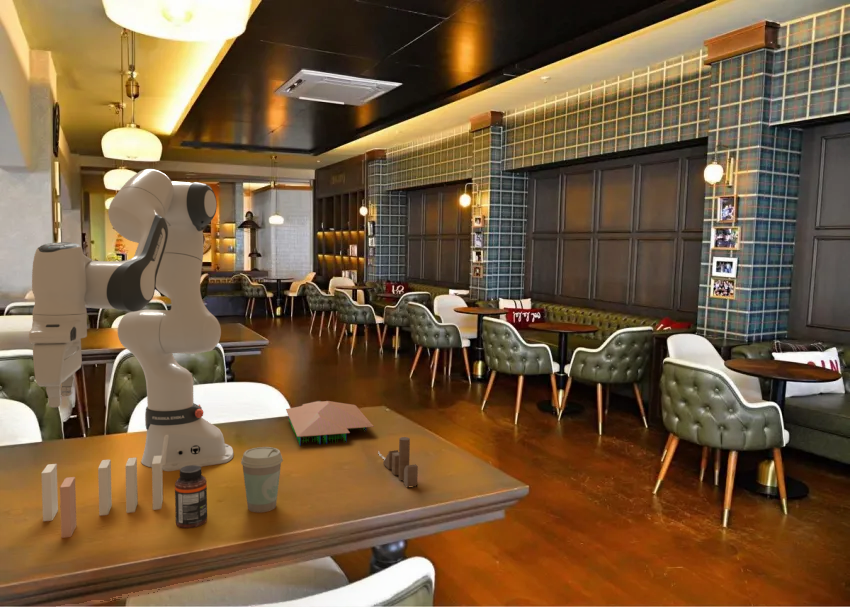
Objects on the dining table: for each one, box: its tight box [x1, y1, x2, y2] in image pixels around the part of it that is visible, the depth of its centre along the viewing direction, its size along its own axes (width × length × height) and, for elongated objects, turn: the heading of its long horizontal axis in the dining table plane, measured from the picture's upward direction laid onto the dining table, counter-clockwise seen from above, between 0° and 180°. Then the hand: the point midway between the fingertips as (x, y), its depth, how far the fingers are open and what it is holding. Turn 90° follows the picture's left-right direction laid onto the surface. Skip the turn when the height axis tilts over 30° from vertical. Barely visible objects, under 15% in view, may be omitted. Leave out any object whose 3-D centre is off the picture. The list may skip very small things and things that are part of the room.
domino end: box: [40, 463, 59, 522], centre depth 125 cm, size 2×5×10 cm, turn 19°
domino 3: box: [125, 457, 138, 514], centre depth 130 cm, size 2×5×10 cm, turn 19°
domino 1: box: [59, 476, 77, 539], centre depth 119 cm, size 2×5×10 cm, turn 19°
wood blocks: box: [377, 436, 419, 488], centre depth 156 cm, size 25×3×10 cm, turn 23°
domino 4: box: [151, 455, 164, 511], centre depth 132 cm, size 2×5×10 cm, turn 19°
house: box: [285, 400, 374, 447], centre depth 192 cm, size 23×33×8 cm
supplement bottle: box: [174, 465, 208, 529], centre depth 124 cm, size 6×6×11 cm
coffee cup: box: [240, 446, 284, 513], centre depth 132 cm, size 8×8×12 cm
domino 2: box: [97, 459, 113, 516], centre depth 129 cm, size 2×5×10 cm, turn 19°
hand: (61, 400), depth 118 cm, fingers open, 8 cm apart
